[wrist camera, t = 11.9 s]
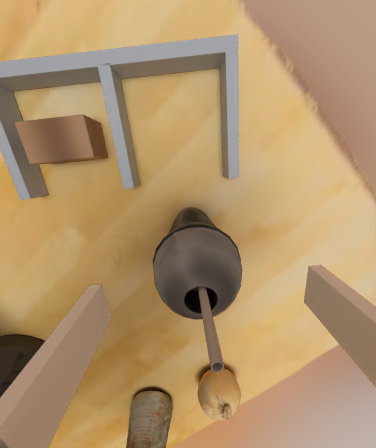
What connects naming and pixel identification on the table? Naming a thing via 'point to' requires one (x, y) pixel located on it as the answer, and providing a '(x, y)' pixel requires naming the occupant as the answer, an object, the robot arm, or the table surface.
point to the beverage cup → (198, 273)
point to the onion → (219, 394)
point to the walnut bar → (62, 139)
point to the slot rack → (116, 97)
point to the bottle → (149, 420)
